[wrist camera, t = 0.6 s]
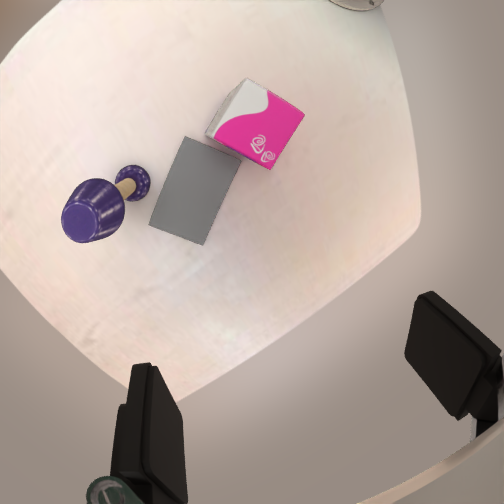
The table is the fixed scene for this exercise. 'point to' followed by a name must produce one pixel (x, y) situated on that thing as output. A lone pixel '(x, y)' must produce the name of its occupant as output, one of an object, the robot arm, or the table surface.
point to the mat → (194, 191)
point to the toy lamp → (102, 204)
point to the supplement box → (255, 123)
